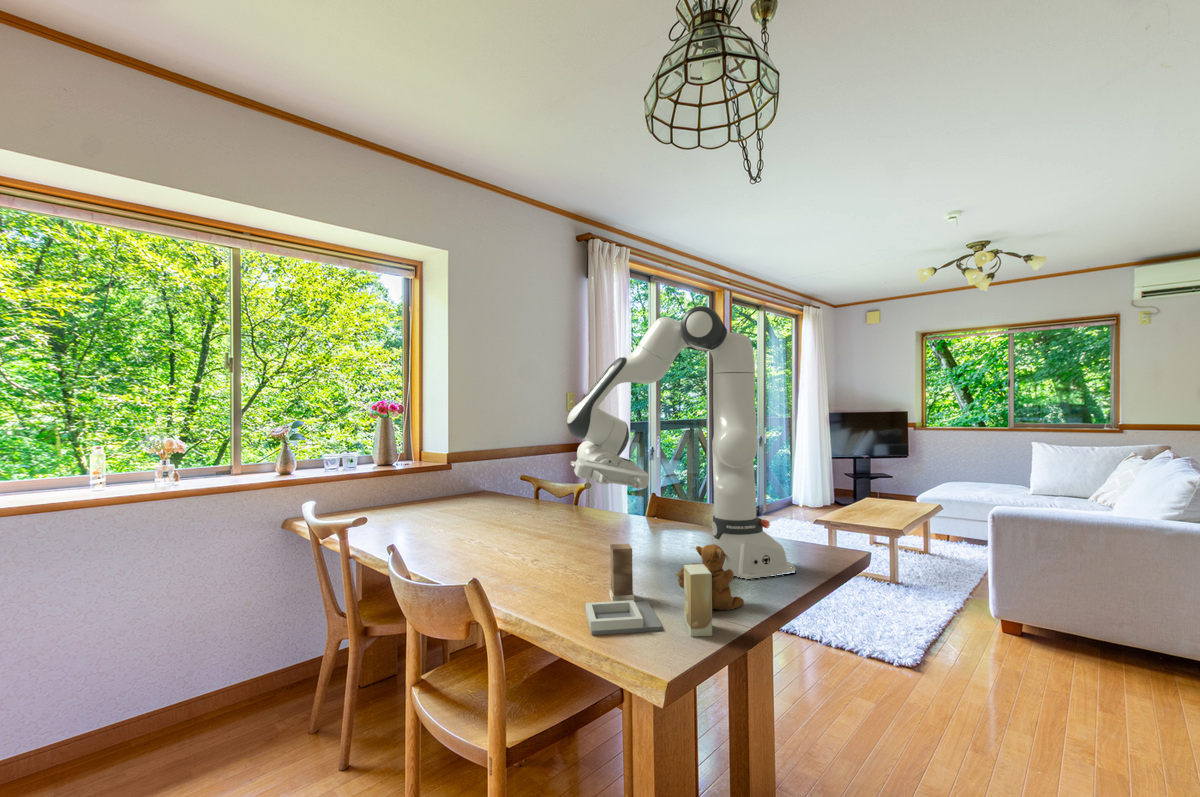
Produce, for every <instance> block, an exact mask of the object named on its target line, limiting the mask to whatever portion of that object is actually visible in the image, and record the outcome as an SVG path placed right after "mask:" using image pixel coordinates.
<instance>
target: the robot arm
mask: <svg viewBox="0 0 1200 797" xmlns="http://www.w3.org/2000/svg"><path fill="white" fill-rule="evenodd" d="M683 349H690V350H694V351H698V352H705V353H706V352H709V353H710V354H711V357H712V365H713V366H712V370H713V372H712V374H713V375H712V376H713V377H712V405H713V407H712V409H713V412H712V413H713V437H712V442H711V443H712V448H711V449H712V473H713V474H712V475H713V508H714V509H713V510H714V511H713V512H714V514H713V516H712V524H711V526H712V536H713V544H714V545H717V546H719V547H720V548H721V549H722V550H723V551H724V553H725V554H726V555H727V556H728V557H729V558H728V557H727V556H726V557H727V559H728V561H729V562H728V561H727V559H726V557H725V561H724V564H723V567H722V569H723V570H724V571H726V570H728V569H730V570H732V571H733V577H734V576H737V577H736V578H739V577H740V579H742V578H745V579H744V580H747V579H751V578H758V577H765V576H771V575H777V574H782V573H787V572H792V571H795V570H796V571H797V568H796V567H795V565H794V564H793V563H791V562H789V561H788V559H787V554H786V551H785V548H784V547H783V546H782V544H781V543H779V542H778V541H777V540H776V539H775V538H773V537H772V536H771V535H769V534H768V533H767V532H766V531H764V529H768V528H770V527H771V522H770V521H769V520H766V519H762V518H760V517H758V516H757V494H756V493H757V492H756V490H757V489H756V487H757V486H756V478H755V467H754V466H755V465H754V460H755V458H756V455H757V452H758V429H757V428H758V426H757V415H756V414H757V413H756V411H757V410H756V366H755V357H754V350H753V345H752V341H751V339H750V338H749V337H748V336H747V335H745V334H743V333H740V332H729V331H728V329H727V327H726V326H725V324H724V321H723V320H722V319H721V317H720V315H719V314H718V313H717V312H716V311H715V310H714V309H713V308H711V307H709V306H706V305H700V306H699V305H697V306H695V307H694V306H693V307H692V308H690V309H688V310H687V311H686V312H685V314H684V315H683V316H682V318H681V320H677V319H674V318H672V317H669V316H668V317H667V316H662V317H659V318H657V319H656V320H655V321H654V322H653V323H652V324H651V326H650V327H649V328H648V329H647V330H646V332H645V333H644V334H643V336H642V337H641V339H640V341H639V342H638V344H637V346H636V347H635V348H634V349H633V351H632V352H630V353H629V354H627V356H623V357H618V358H617V359H615V360H614V361H613V362H612V363H611V364H610V365H609V366H608V367H607V369H606V370H605V371H604V372H603V374H601V375H600V377H599V378H598V379H597V380H596V382H595V383H594V384H593V385H592V386H591V388H590V389H589V390H588V392H587V393H586V394H584V396H583V397H582V399H581V400H579V401H578V402H577V404H575V405H574V406H573V408H572V409H571V410H570V412H569V413H568V415H567V418H566V424H567V428H568V432H569V433H570V434H571V436H573V437H576V438H578V439H581V440H584V441H583V442H581V443H580V444H579V445H578V447H577V451H576V458H577V459H576V460H574V461H572V460H571V461H570V466H572V467H573V472H574V474H575V476H576V477H578V478H580V479H584V480H591V481H594V482H595V483H598V484H600V485H609V484H616V485H620V486H627V487H632V488H634V489H636V490H637V489H638V490H640V489H646V488H647V487H648V484H649V481H650V474H648V472H646V471H645V470H644V469H643V468H642V467H639V466H637V463H636V461H633V460H631V459H628V458H625V457H621V456H620V455H622V453H623V452H624V451H625V449H626V448H627V445H628V443H629V440H630V431H629V427H628V426H629V425H628V424H627V422H626V421H624V420H622V419H620V418H619V417H616V416H614V415H612V414H609V413H608V412H606V411H603V409H600V408H599V406H600V405H601V404H602V402H603V401H604V400H605V399H606V398H607V396H608V395H609V394H610V393H611V391H612V390H613V389H614V388H615V387H616V386H618V385H620V384H624V383H633V384H642V385H645V384H646V385H647V384H654V383H656V382H658V381H660V380H662V379H663V378H664V377H665V375H666V374H667V373H668V371H669V370H670V369H671V366H672V364H673V363H674V361H675V360H676V358H677V356H678V355H679V353H680V352H681V351H682V350H683ZM763 528H764V529H763ZM729 559H730V560H731V561H730V560H729ZM790 567H792V568H790ZM751 580H752V579H751Z"/></svg>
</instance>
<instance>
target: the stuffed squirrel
mask: <svg viewBox="0 0 1200 797" xmlns="http://www.w3.org/2000/svg"><path fill="white" fill-rule="evenodd" d="M695 550H696V552H697V553H698V555H699V556H700V557H701V560H702V563H701V564H704V565H705V567H706V568H707V569H708V570H709V571H710V572H711V574H712V610H714V609H716V611H726V610H725V609H732V610H734V609H733V608H736V609H738V608H741V607H743V606H744V605H745V604H744V603H745V601H744V599H743V598H742V597H741V596H740V597H739V596H732V591H731V588H730V582H731V581H732V580H733V579H734V576H733V571H732V570H730V569H728V570H726V571H724V570H723V569H722V567H723V564H724V561H725V557H726V556H727V555H726V554H725V553H724V551H723V550H722V549H721V548H720V547H719V546H717V545H714V544H707V545H704V546H703V547H702V546H699V545H697V546H696V547H695ZM727 557H728V556H727ZM727 557H726V559H727ZM728 558H729V557H728ZM729 560H730V559H729ZM727 561H728V559H727ZM730 561H731V560H730ZM728 562H729V561H728ZM696 564H698V563H696V562H695V563H692V564H691V565H696ZM675 575H676V576H677V577H678V579H676V581H677V582H678V585H679V587H681V588H682V589H684V566H683V567H681V568H680V570H679V571H678V572H677V573H676V574H675ZM742 605H743V606H742ZM740 606H741V607H740ZM737 607H738V608H737Z"/></svg>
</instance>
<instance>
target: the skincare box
mask: <svg viewBox="0 0 1200 797" xmlns="http://www.w3.org/2000/svg"><path fill="white" fill-rule="evenodd" d="M695 564H696V563H695ZM683 567H684V588H683V625H684V627H685V629H686V631H687V632H688V634H689V636H690V637H693V638H694V637H712V636H713V609H712V574H711V572H710V571H709V570H708V569H707V568H706V567H705V565H704V564H702V563H697V564H696V565H692V564H684V565H683Z"/></svg>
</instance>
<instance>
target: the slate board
mask: <svg viewBox="0 0 1200 797" xmlns="http://www.w3.org/2000/svg"><path fill="white" fill-rule="evenodd" d="M584 609H585V613H586V614H585V615H586V617H587V622H588V626H589V629H590V632H591V633H590V634H591V635H592V636H599V635H600V636H601V635H613V634H629V633H643V632H644V633H645V632H660V631H663V625H662V624H661V622H660V620H659V619H658V617H657V615H656V614H655V612H654V610H653V608H652V606H651V605H650V603H649V601H645V600H644V601H635V599H634V600H628V601H612V600H611V601H598V602H597V601H596V602H585V605H584Z"/></svg>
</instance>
